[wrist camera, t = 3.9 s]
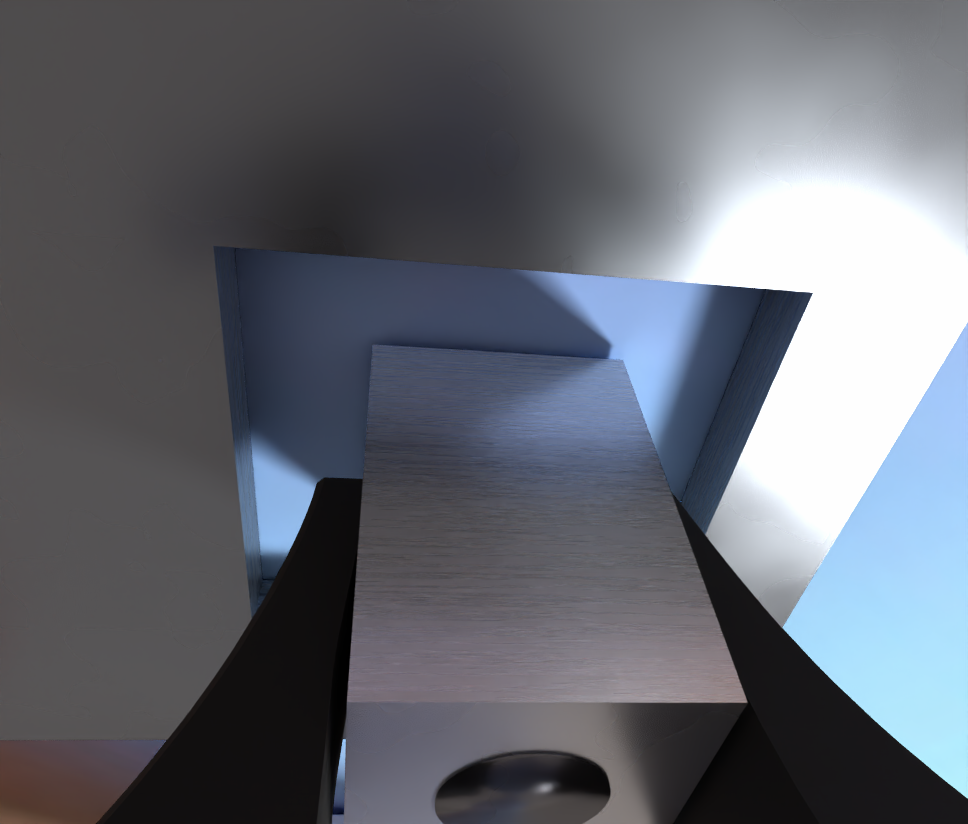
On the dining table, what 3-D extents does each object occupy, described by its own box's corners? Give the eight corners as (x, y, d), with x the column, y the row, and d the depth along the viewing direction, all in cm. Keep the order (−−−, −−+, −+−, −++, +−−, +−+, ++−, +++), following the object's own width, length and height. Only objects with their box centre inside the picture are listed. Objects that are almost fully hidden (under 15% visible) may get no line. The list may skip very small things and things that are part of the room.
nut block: (574, 528, 15) (647, 869, 10) (364, 521, 14) (341, 878, 10) (622, 359, 12) (749, 708, 8) (372, 344, 12) (346, 707, 7)
